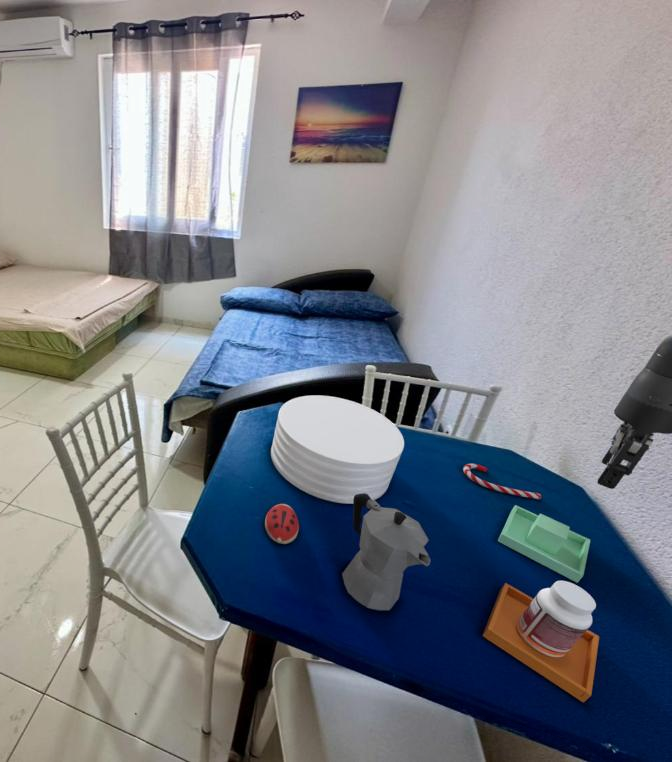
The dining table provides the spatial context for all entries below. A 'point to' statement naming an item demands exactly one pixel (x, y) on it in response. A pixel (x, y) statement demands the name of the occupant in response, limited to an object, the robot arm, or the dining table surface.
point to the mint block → (547, 534)
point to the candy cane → (493, 486)
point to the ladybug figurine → (282, 524)
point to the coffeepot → (382, 553)
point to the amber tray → (563, 671)
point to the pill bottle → (556, 618)
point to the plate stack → (335, 448)
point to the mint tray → (564, 562)
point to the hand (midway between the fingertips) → (606, 474)
